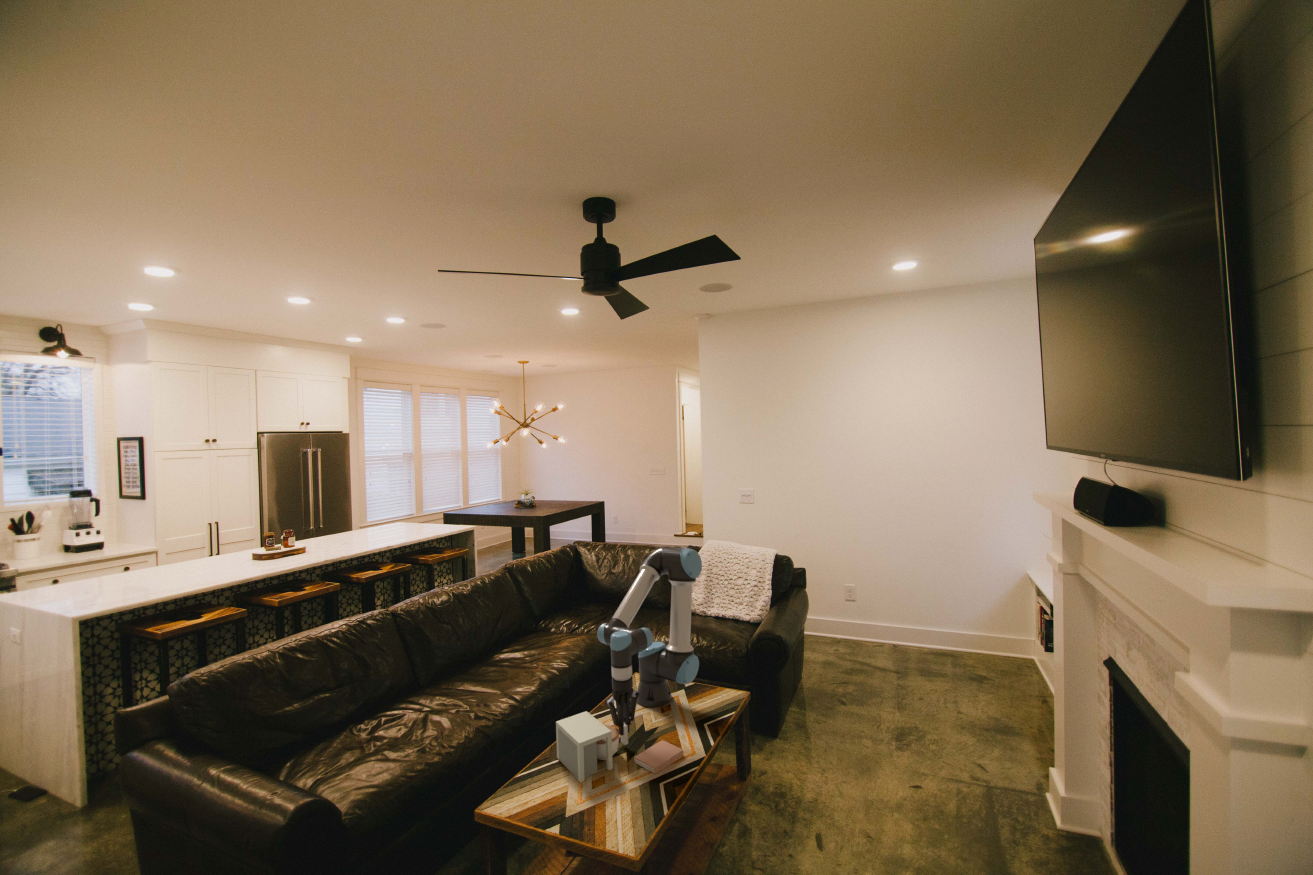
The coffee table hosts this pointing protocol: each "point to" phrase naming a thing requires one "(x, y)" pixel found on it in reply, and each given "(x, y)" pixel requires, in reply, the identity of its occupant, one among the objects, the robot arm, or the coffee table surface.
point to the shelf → (582, 744)
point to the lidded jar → (602, 743)
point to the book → (658, 756)
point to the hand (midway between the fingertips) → (624, 742)
